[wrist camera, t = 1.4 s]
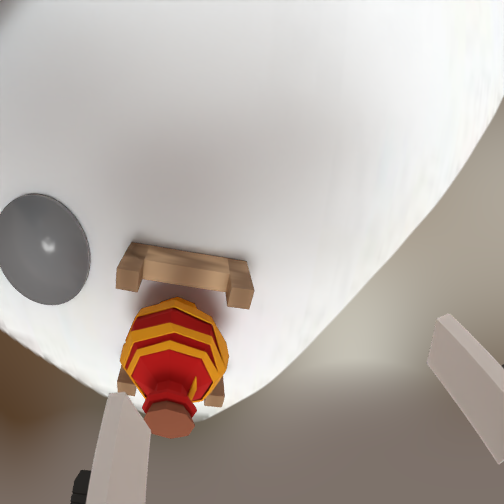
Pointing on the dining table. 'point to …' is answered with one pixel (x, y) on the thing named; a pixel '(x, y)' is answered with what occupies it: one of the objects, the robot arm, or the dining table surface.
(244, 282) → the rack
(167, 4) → the dining table surface
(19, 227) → the coaster
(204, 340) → the potion bottle
